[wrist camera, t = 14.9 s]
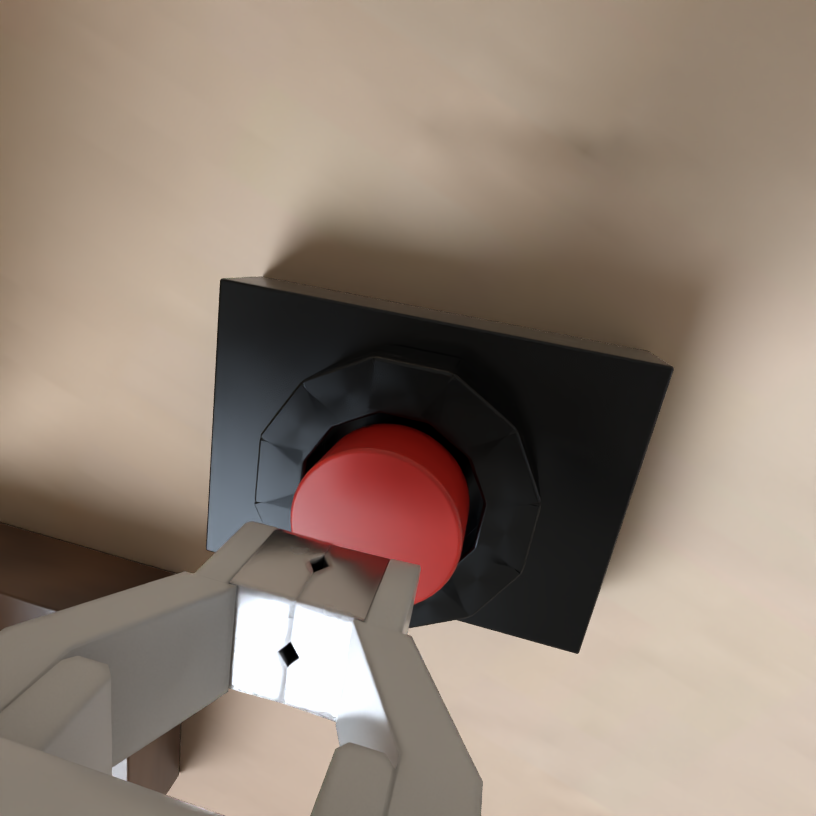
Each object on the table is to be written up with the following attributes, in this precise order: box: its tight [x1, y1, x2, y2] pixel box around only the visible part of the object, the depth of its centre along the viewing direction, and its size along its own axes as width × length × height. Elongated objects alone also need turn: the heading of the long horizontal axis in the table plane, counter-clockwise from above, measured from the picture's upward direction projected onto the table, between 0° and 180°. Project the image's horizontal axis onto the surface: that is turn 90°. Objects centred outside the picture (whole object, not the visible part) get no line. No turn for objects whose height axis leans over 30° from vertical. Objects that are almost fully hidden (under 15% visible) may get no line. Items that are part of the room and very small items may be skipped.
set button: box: [291, 423, 470, 604], centre depth 11 cm, size 4×4×2 cm
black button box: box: [206, 277, 674, 654], centre depth 13 cm, size 11×8×4 cm
